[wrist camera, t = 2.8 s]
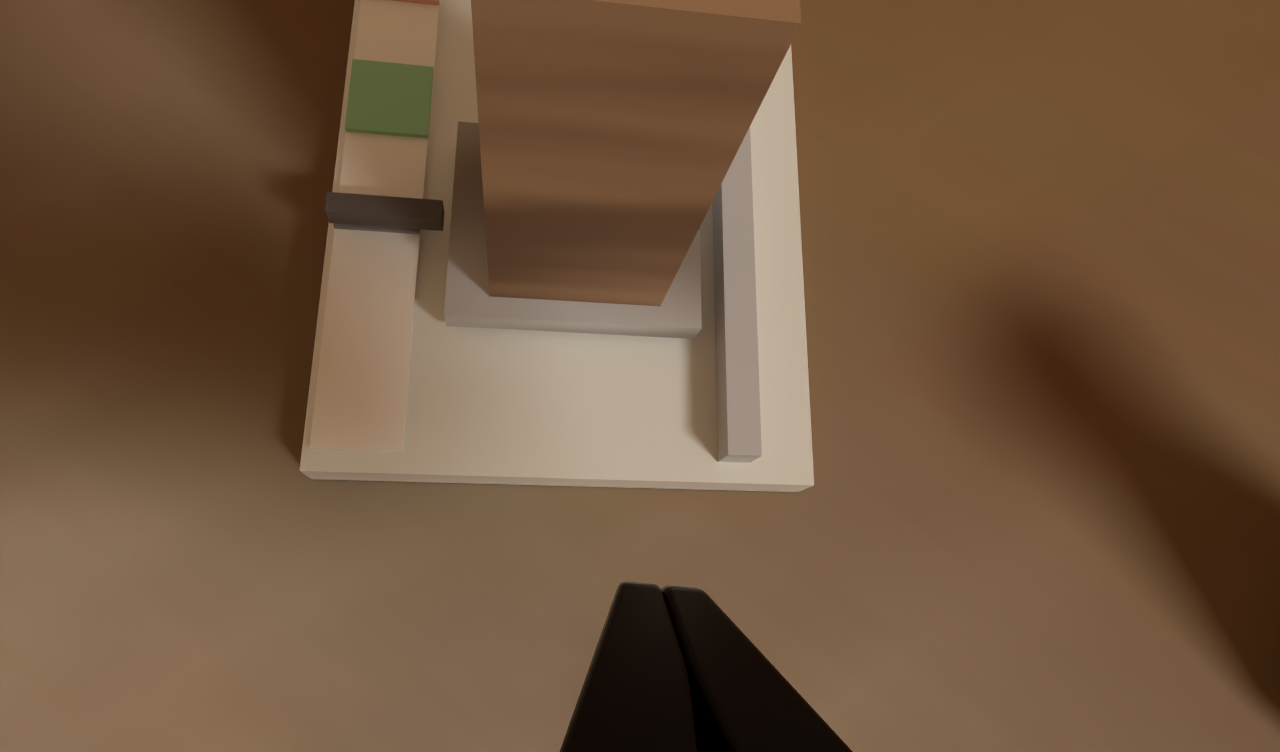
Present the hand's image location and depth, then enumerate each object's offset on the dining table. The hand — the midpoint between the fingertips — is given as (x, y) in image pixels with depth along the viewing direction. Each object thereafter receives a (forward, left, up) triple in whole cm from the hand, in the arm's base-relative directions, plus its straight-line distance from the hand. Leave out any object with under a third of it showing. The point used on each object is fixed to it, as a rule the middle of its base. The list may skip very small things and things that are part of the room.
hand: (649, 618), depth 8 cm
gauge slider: (+7, +6, -10) cm, 14 cm away
